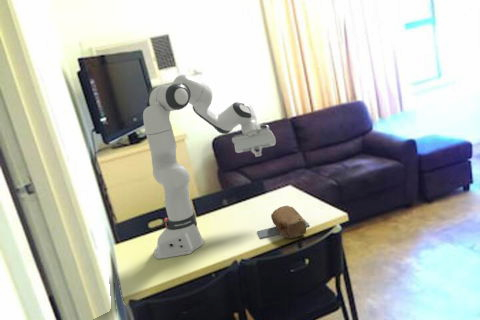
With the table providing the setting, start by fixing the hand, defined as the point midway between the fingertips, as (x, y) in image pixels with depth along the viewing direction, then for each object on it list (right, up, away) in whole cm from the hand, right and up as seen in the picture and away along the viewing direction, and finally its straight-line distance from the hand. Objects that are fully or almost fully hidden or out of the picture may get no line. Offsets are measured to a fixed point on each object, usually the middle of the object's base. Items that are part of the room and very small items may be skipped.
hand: (258, 155), depth 199 cm
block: (+10, -26, -11) cm, 30 cm away
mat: (+10, -32, -16) cm, 38 cm away
